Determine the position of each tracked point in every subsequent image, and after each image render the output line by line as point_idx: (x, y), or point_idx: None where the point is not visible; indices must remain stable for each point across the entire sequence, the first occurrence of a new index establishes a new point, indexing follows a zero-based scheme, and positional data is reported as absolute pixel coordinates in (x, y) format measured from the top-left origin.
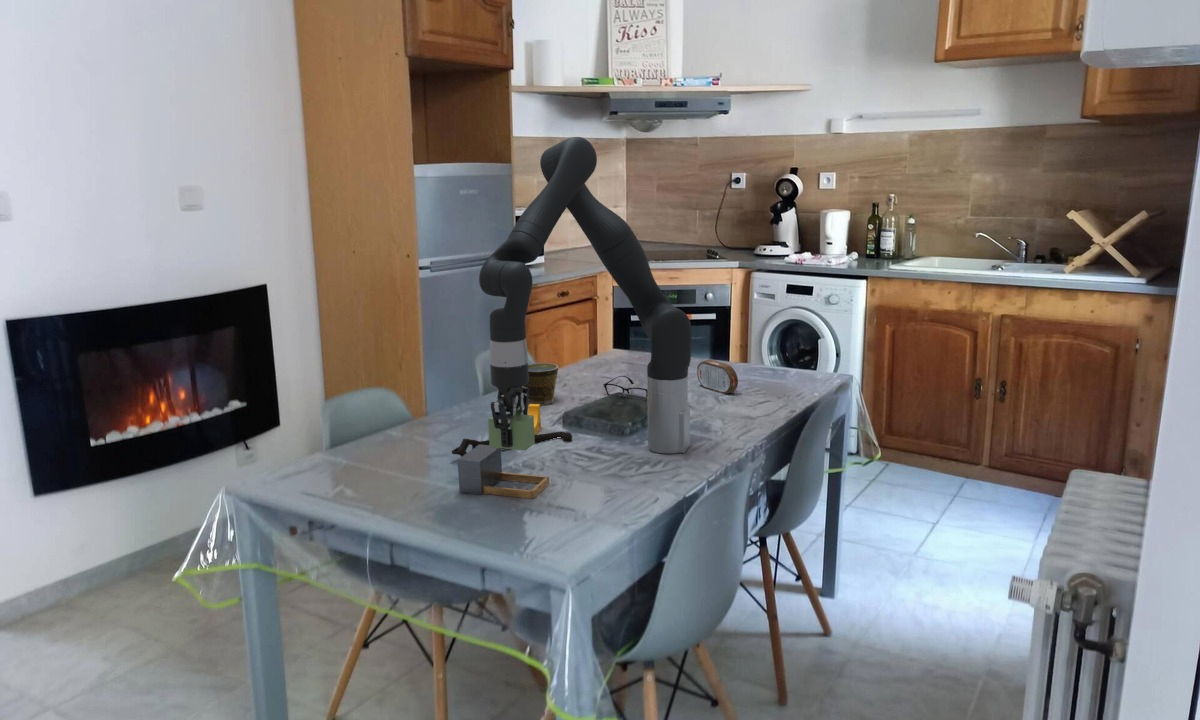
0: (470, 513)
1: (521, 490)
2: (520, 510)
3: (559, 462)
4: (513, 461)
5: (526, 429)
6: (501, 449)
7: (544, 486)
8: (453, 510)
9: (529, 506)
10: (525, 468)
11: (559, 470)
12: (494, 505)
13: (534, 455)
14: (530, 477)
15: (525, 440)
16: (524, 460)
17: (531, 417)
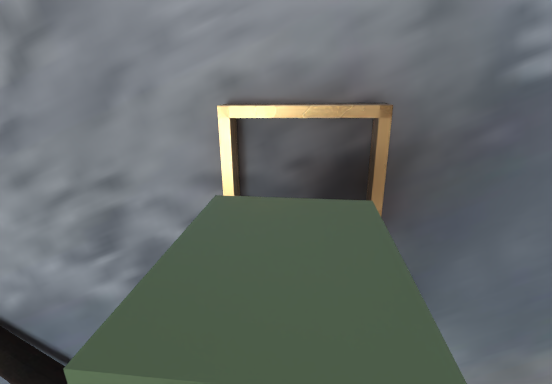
0: (545, 259)
1: (386, 155)
2: (507, 105)
3: (27, 148)
4: (91, 288)
5: (377, 292)
6: (33, 347)
7: (271, 104)
8: (520, 312)
9: (462, 87)
10: (126, 235)
11: (93, 118)
12: (466, 212)
13: (17, 248)
14: (234, 178)
15: (388, 234)
16: (68, 262)
17: (162, 370)
